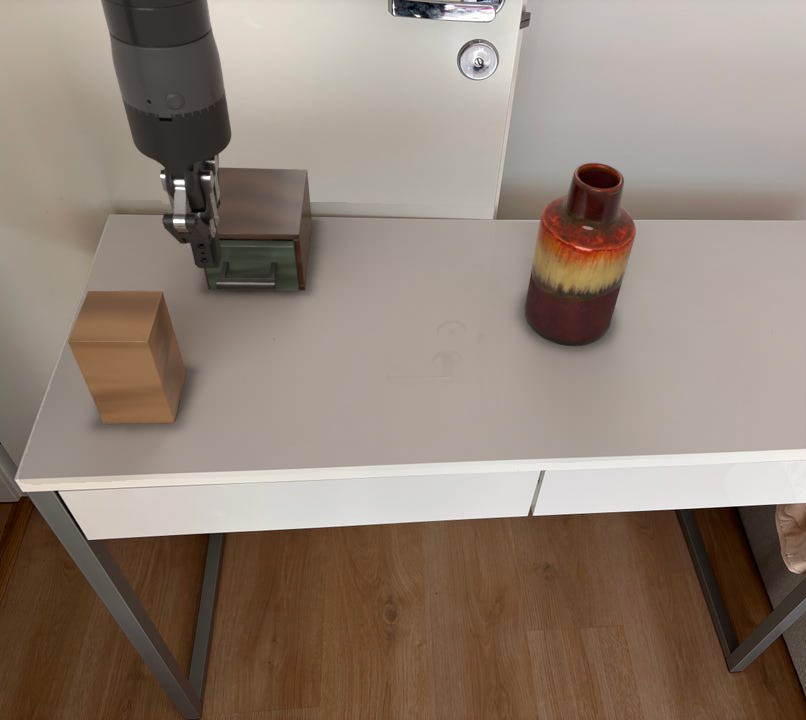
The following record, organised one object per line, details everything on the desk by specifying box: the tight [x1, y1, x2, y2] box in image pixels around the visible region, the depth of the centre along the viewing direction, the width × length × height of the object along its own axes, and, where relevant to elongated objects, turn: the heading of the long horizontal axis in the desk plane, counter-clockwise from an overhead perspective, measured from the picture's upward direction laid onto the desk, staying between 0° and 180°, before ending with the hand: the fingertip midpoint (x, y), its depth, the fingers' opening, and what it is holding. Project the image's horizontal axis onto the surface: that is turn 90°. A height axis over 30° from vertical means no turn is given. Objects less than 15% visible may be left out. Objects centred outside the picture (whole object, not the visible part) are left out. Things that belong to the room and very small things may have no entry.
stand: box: [67, 290, 187, 425], centre depth 76 cm, size 7×7×12 cm
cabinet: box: [203, 166, 313, 291], centre depth 95 cm, size 14×12×9 cm
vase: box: [524, 162, 637, 347], centre depth 87 cm, size 11×11×20 cm
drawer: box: [206, 239, 300, 292], centre depth 92 cm, size 17×10×7 cm, turn 5°
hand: (209, 263), depth 70 cm, fingers closed
